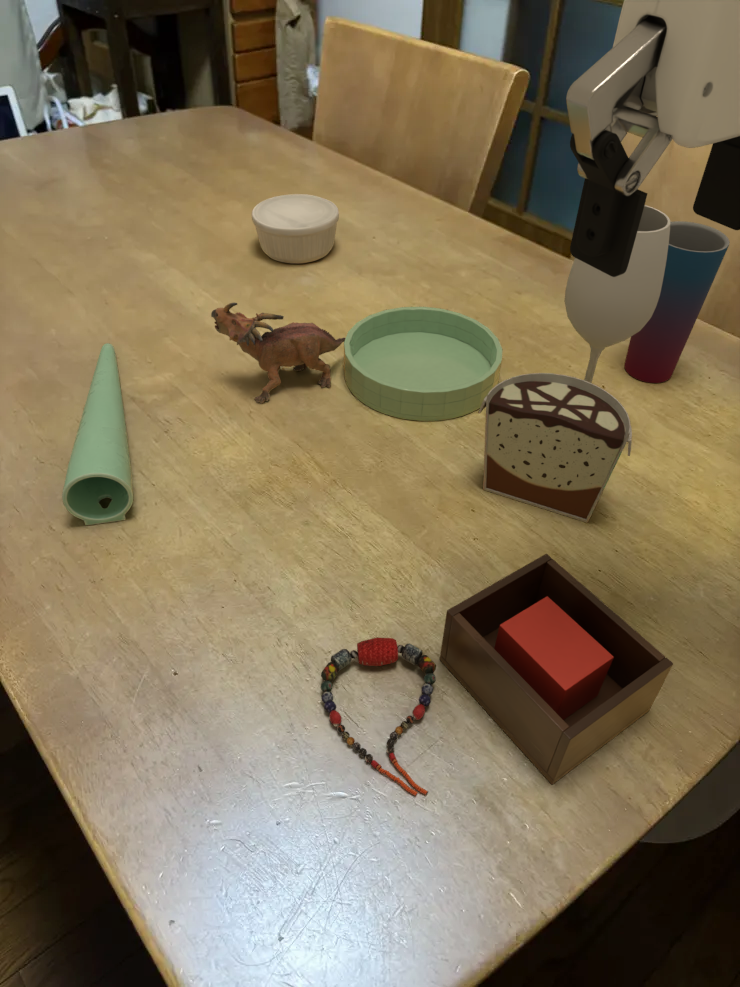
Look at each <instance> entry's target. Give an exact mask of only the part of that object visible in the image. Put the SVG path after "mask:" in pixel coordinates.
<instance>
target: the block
mask: <svg viewBox="0 0 740 987" xmlns="http://www.w3.org/2000/svg"><path fill="white" fill-rule="evenodd" d="M494 649H495V650H496V651H497V652H498V653H499V654H500V655H501V656H502V657H503V659H504V660H505V661H506V662H507V663H508V664H509V665H510V666H511V667H512V668H513V669H514V670H515V671H516V672H517V673H518V674H519V675H520V676H521V677H522V678H523V679H524V680H525V681H526V682H527V683H528V684H529V685H530V686H531V687H532V688H533V689H534V691H535V692H536V693H537V694H538V695H539V696H540V697H541V698H542V699H543V700H544V701H545V702H546V703H547V704H548V705H549V706H550V707H551V708H552V709H553V710H554V711H555V712H556V713H557V714H558V715H559V716H560V717H561V718H562V719H563V720H564V719H566V718H567V717H568V716H570V715H571V714H573V713H574V712H575V711H577V710H578V709H579V708H581V707H582V706H584V705H585V704H586V703H588V702H589V701H591V700H592V699H593V698H595V697H596V696H598V694H599V691H600V689H601V686H602V684H603V682H604V679H605V677H606V675H607V672H608V670H609V667H610V665H611V663H612V660H613V658H614V657H613V656H612V655H611V654H610V653H609V652H608V651H607V650H606V649H605V648H604V647H602V646H601V645H600V644H599V643H598V642H597V641H596V640H595V639H594V638H593V637H592V636H590V635H589V634H588V633H587V632H586V631H585V630H584V629H583V628H582V627H581V626H579V625H578V624H577V623H576V622H575V621H574V620H573V619H572V618H571V617H570V616H569V615H567V614H566V613H565V612H564V611H563V610H562V609H561V608H560V607H559V606H558V605H556V604H555V603H554V602H553V601H552V600H551V599H550V598H549V597H548V596H547V597H545V598H543V599H542V600H540V601H538V602H537V603H535V604H533V605H532V606H530V607H528V608H527V609H525V610H524V611H522V612H520V613H519V614H517V615H515V616H514V617H512V618H510V619H509V620H507V621H505V622H504V623H502V624H501V625H500V626H499V630H498V635H497V639H496V643H495V648H494Z"/></svg>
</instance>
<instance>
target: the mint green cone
mask: <svg viewBox="0 0 740 987" xmlns="http://www.w3.org/2000/svg"><path fill="white" fill-rule="evenodd" d="M116 354H117V353H116V349H115V347H114V345H113V344H112V343H110V342H109V343H108V342H106V343H104V344H103V345H102V346H101V349H100V352H99V355H98V358H97V362H96V365H95V368H94V372H93V374H92V380H91V382H90V386H89V389H88V393H87V396H86V400H85V404H84V407H83V411H82V414H81V418H80V421H79V425H78V428H77V431H76V435H75V439H74V443H73V445H72V450H71V453H70V457H69V461H68V463H67V464H68V465H67V469H66V473H65V474H66V475H65V480H64V484H63V489H62V494H61V500H62V505H63V506H64V508H65V510H67V512H68V513H70V514H71V515H72V516H73V517H75V518H78V519H80V520H82V521H83V522H84V525H85V526H93V525H100V524H107V523H115V522H119V521H121V522H122V521H126V514H127V513H128V511H129V510H130V509H131V507H132V506H133V503H134V490H133V489H134V486H133V474H132V465H131V456H130V449H129V447H130V446H129V441H128V432H127V426H126V424H127V423H126V417H125V409H124V403H123V396H122V389H121V381H120V380H121V379H120V374H119V367H118V366H119V365H118V360H117V355H116ZM103 499H110V500H111V501H110V502H109V504H108V506H107V507H105V508H103V507H102V505H101V503H100V502H101V501H102V500H103Z"/></svg>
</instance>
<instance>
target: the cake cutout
mask: <svg viewBox="0 0 740 987" xmlns="http://www.w3.org/2000/svg"><path fill="white" fill-rule="evenodd" d="M484 409H485V424H484V426H485V427H484V452H483V455H484V456H483V479H482V480H483V481H482V490H483V491H486V492H489V493H492V494H495V495H498V496H500V497H501V496H502V497H505V498H508V499H511V500H514V501H517V502H520V503H524V504H526V505H530V506H533V507H535V508H540V509H543V510H545V511H549V512H552V513H555V514H559V515H561V516H565V517H567V518H571V519H574V520H577V521H581V522H583V523H587V524H588V523H589V521H590V519H591V516H592V515H593V513H594V511H595V509H596V507H597V504H598V503H599V500H600V498H601V496H602V494H603V492H604V490H605V488H606V486H607V484H608V482H609V480H610V478H611V476H612V474H613V471H614V470H615V467H616V465H617V463H618V461H619V459H620V458H621V456H622V453H623V451H624V449H625V448H626V445H627V444H628V445H627V457H630V456H631V451H632V443H633V442H632V440H633V430H632V425H631V419H630V416H629V414H628V411H627V410H626V408H625V407H624V405H623V404H622V403H621V402H620V401H619V400H618V398H616V397H615V396H614V395H612V393H610V392H608V391H607V390H605V389H604V388H602V387H601V386H598V385H596V384H594V383H593V382H592V383H590V382H587V381H585V380H584V379H581V378H578V377H576V376H575V377H574V376H570V375H566V374H562V373H561V374H560V373H553V372H532V373H524V374H518V375H515V376H511V377H509V378H506V379H503V381H501V382H498V384H497V385H496V386H495V387H494V388H492V389H491V391H490V392H489V393H488V395H487V396H486V397H485V399H484V400H483V402H482V405H481V407H480V408H479V409H478V413H477V414H481V413H482V412H483V410H484Z"/></svg>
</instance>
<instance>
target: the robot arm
mask: <svg viewBox="0 0 740 987" xmlns="http://www.w3.org/2000/svg"><path fill="white" fill-rule="evenodd" d="M565 102H566V103H565V104H566V108H567V114H568V121H569V128H570V133H571V136H570V140H569V148H570V151H571V152H572V154H573V155H574V157H575V159H576V161H577V162H578V164H577V169H576V170H577V174H578V176H580V177H581V178H583V179H584V180H583V186H582V190H581V195H580V200H579V204H578V208H577V215H576V218H575V223H574V227H573V231H572V235H571V242H570V246H569V252H570V254H571V256H572V257H573V258H574V259H575V258H577V259H579V260H581V261H583V262H584V263H586V264H588V265H590V266H592V267H594V268H596V269H598V270H600V271H602V272H604V273H606V274H608V275H610V276H612V277H616V276H619V275H622V274H624V273H625V272H626V270H627V267H628V264H629V260H630V257H631V253H632V249H633V246H634V242H635V238H636V235H637V231H638V227H639V224H640V220H641V217H642V213H643V209H644V206H645V205H646V202H647V197H648V193H647V192H645V191H642V190H640V189H639V188H640V187H641V185H642V184H643V182H644V181H645V180H646V178H647V177H648V175H649V173H650V172H651V171H652V169H653V168H654V166H656V164H657V163H658V161H659V159H660V158H661V156H662V155H663V154H664V152H665V151H666V150H667V148H668V146H669V145H670V144H671V142H674V143H675V144H676V145H678V146H680V147H684V148H685V149H686V148H687V149H695V148H702V147H706V146H710V145H711V148H710V152H709V154H708V158H707V161H706V164H705V167H704V170H703V175H702V177H701V180H700V183H699V186H698V189H697V193H696V195H695V199H694V202H693V204H692V210H693V212H694V213H695V215H698V216H699V217H703V218H705V219H707V220H710V221H712V222H714V223H716V224H719V225H722V226H724V227H727V228H729V229H730V230H733V231H740V0H623V3H622V6H621V11H620V14H619V19H618V23H617V27H616V32H615V35H614V41H613V45H612V48H610V50H608V51H607V52H606V53H605V54H604V55H603V56H601V58H599V59H598V60H597V61H596V62H595V63H594V64H593V65H591V66H590V67H589V68H588V69H587V70H586V71H584V72H583V73H582V74H581V75H580V76H579V77H578V78H577V79H576V80H574V81H573V82H572V83H571V85H569V88H568V90H567V93H566V97H565ZM628 133H629V134H631V135H634V136H637V137H639V138H641V140H639V142H638V144H637V145H636V147H635V148H634V150H633V151H632V153H631V154H630V155H629V156H628V154H627V152H626V150H625V148H624V145H623V144H622V142H623V140H624V139H625V138H626V136H627V135H628Z"/></svg>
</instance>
